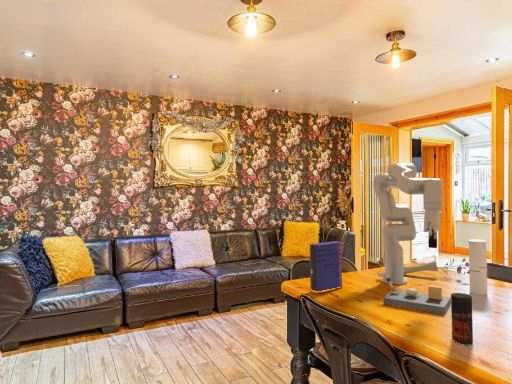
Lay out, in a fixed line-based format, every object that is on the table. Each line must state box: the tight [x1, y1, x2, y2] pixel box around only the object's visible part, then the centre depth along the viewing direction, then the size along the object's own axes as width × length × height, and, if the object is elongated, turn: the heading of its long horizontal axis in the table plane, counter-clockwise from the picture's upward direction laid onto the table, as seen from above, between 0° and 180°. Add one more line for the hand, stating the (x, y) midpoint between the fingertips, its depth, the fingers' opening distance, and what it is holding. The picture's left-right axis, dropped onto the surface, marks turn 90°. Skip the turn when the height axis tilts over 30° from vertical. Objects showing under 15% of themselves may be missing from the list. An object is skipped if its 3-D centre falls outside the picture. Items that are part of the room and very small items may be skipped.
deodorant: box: [450, 292, 474, 345], centre depth 116 cm, size 6×6×15 cm
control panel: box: [382, 288, 451, 316], centre depth 154 cm, size 24×16×4 cm, turn 53°
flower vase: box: [404, 258, 469, 280], centre depth 200 cm, size 12×12×35 cm
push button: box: [405, 287, 418, 296], centre depth 155 cm, size 4×4×2 cm
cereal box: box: [309, 240, 343, 291], centre depth 180 cm, size 17×5×24 cm, turn 123°
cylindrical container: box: [468, 239, 488, 296], centre depth 169 cm, size 7×7×25 cm
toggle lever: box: [386, 277, 395, 291], centre depth 161 cm, size 2×2×6 cm
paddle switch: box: [427, 284, 443, 300], centre depth 151 cm, size 5×2×5 cm, turn 53°
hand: (432, 247), depth 157 cm, fingers closed
